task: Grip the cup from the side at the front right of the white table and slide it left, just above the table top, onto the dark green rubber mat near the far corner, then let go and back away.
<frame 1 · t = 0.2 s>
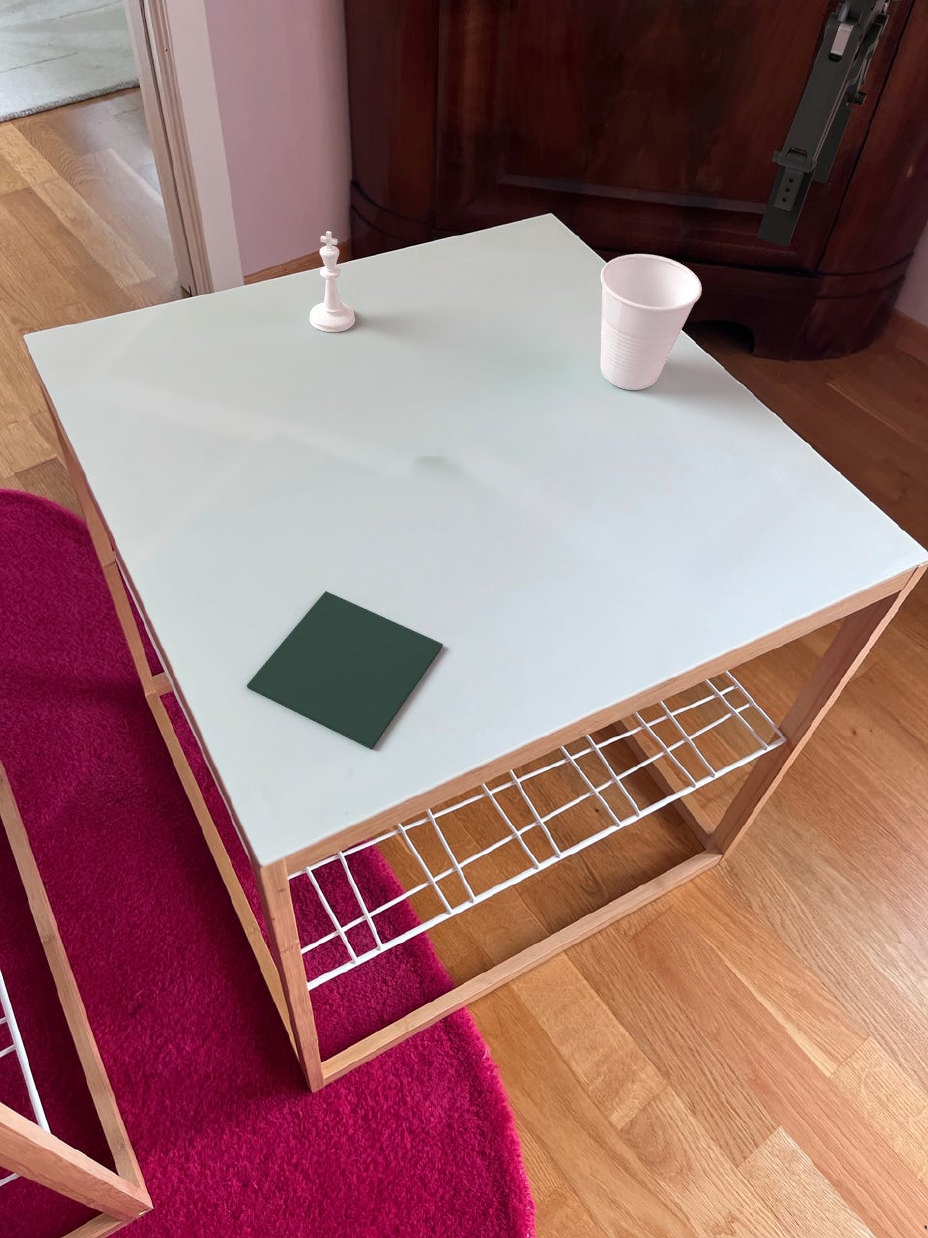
hand: (793, 208, 85), 20 cm above the table, tool pointing down, fingers open, 13 cm apart
chess piece: (332, 320, 103), on the table
cup: (628, 375, 101), on the table
mat: (347, 666, 74), on the table
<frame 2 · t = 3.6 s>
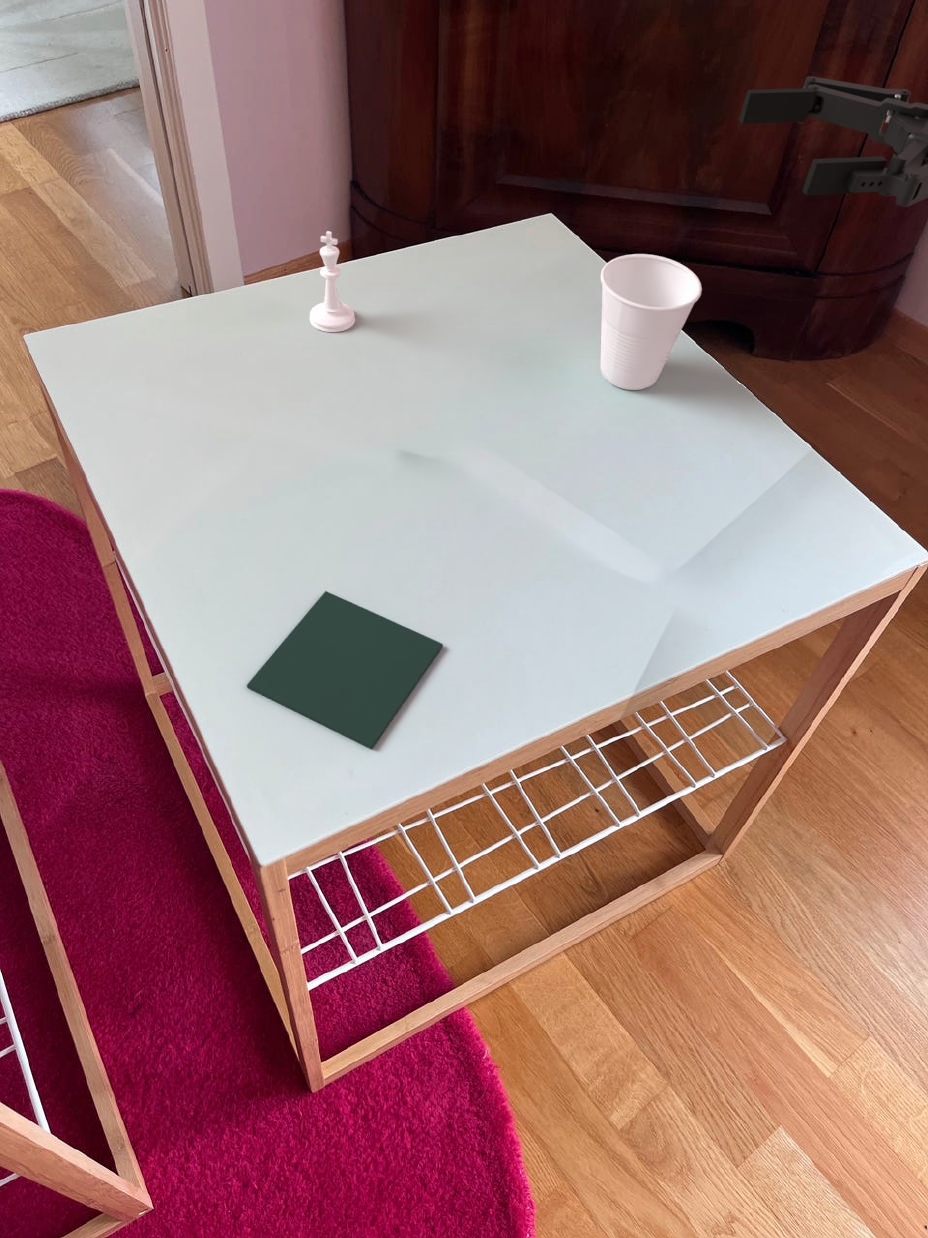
hand: (775, 140, 84), 24 cm above the table, tool horizontal, fingers open, 13 cm apart
nothing on the table moved.
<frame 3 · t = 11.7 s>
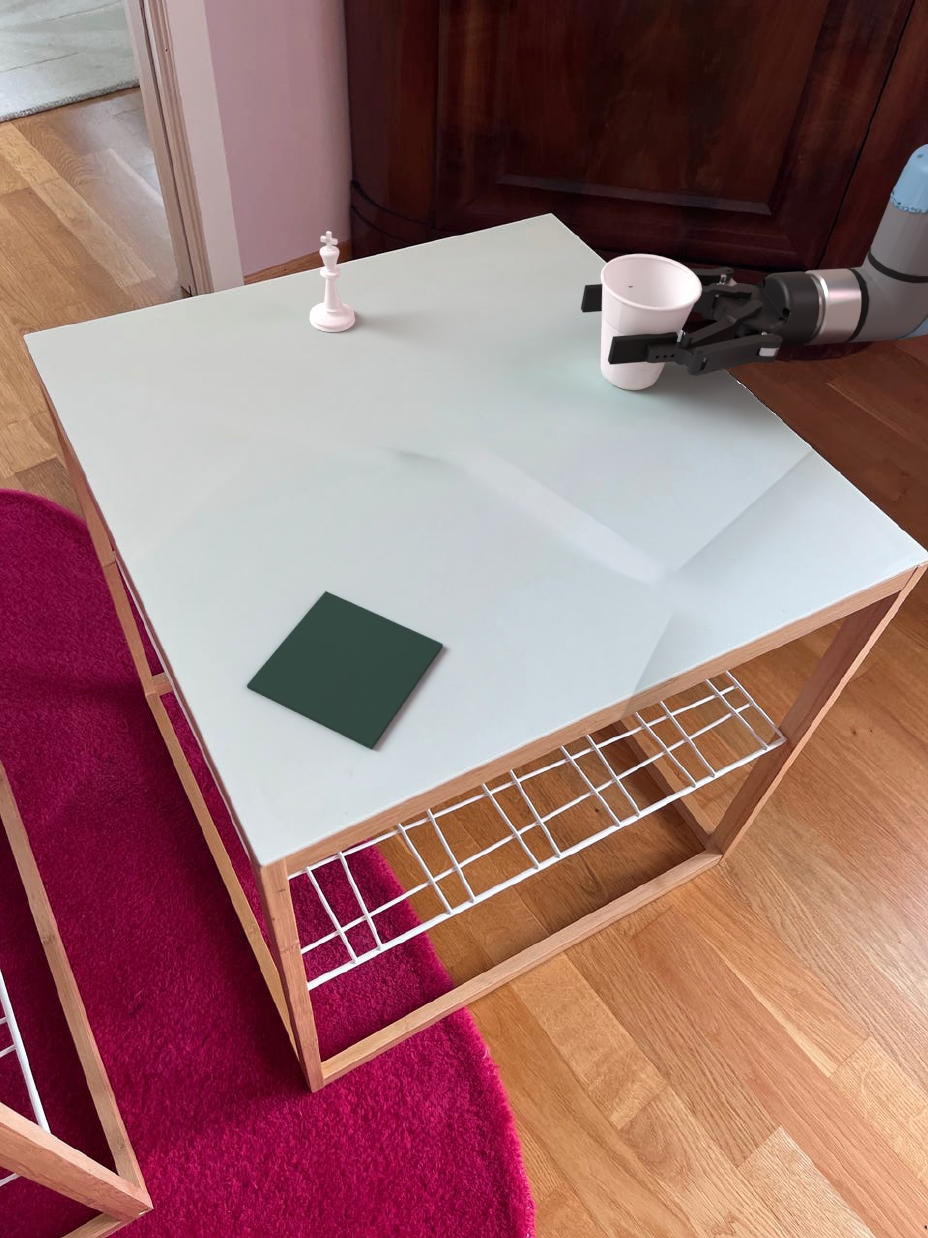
hand: (597, 323, 95), 6 cm above the table, tool horizontal, fingers closed on cup, 8 cm apart
cup: (628, 375, 101), on the table, touching gripper
everything else where it was.
when the fingers open (7 cm above the table, at t = 23.1 s): cup stays where it is, resting on mat.
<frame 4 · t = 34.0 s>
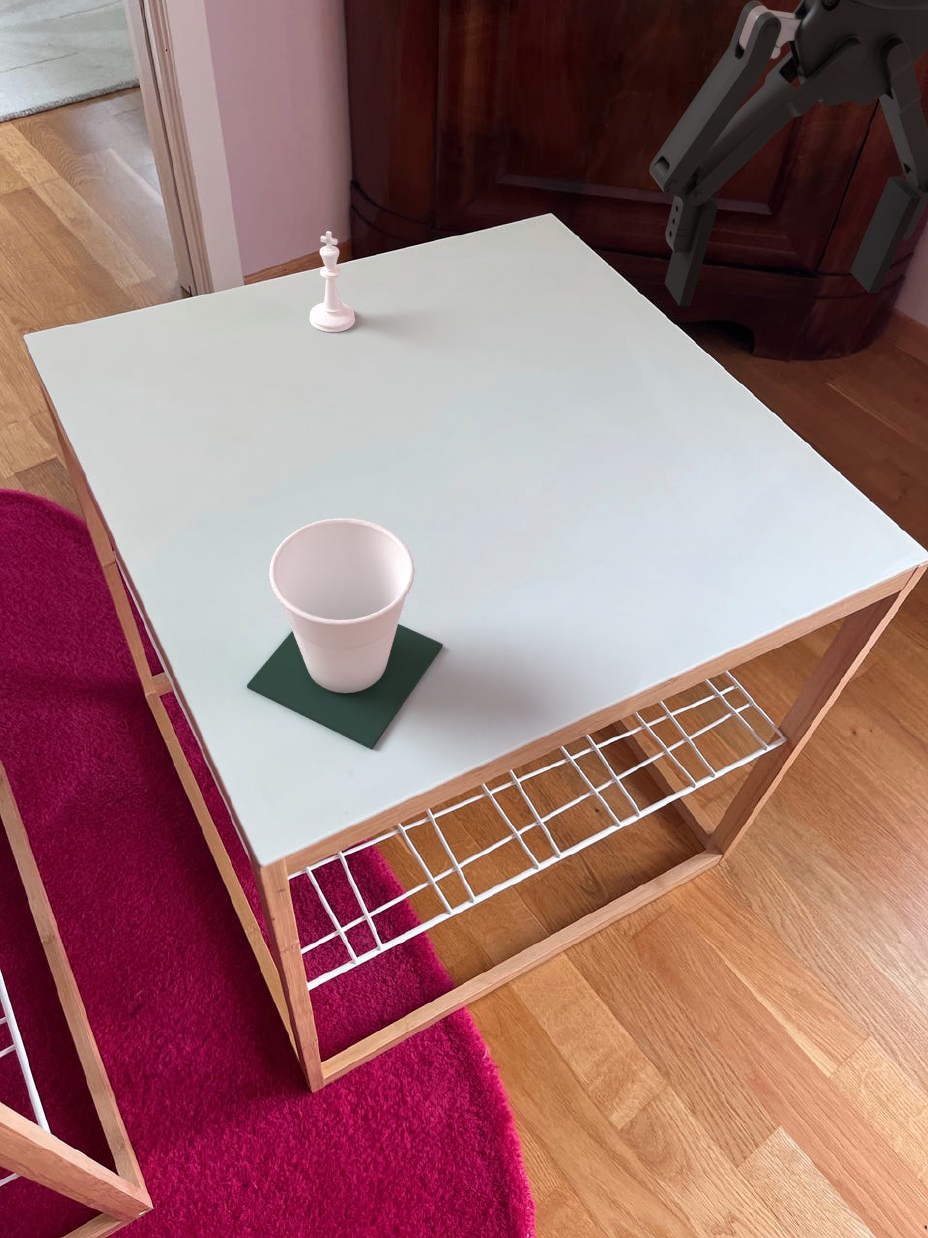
hand: (772, 288, 63), 27 cm above the table, tool pointing down, fingers open, 13 cm apart
cup: (347, 665, 74), resting on mat
everything else where it was.
at the end: cup inside the target area on the mat (0.0 cm from its centre), point 0.2 cm above the mat's base; cup tilted 0°; the gripper is holding nothing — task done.
